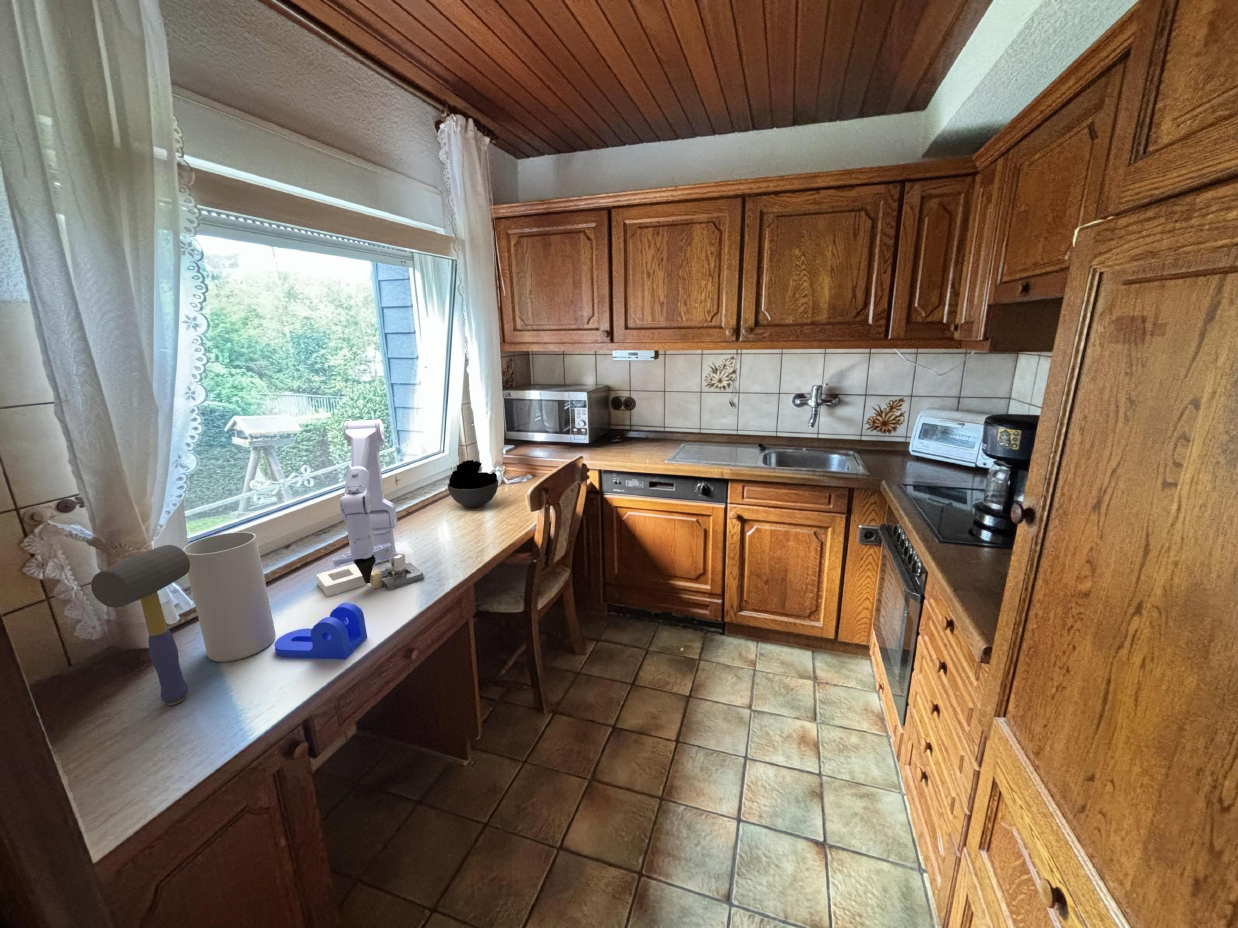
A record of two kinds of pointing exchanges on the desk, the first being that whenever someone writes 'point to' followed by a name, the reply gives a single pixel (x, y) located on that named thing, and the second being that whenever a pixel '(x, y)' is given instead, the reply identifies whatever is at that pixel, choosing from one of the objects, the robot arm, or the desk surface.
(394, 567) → the metal cylinder
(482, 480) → the bowl of black rocks
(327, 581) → the white square block
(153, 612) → the rubber mallet
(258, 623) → the cylinder vase
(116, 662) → the desk surface
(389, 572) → the socket block
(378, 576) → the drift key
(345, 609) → the bracket
